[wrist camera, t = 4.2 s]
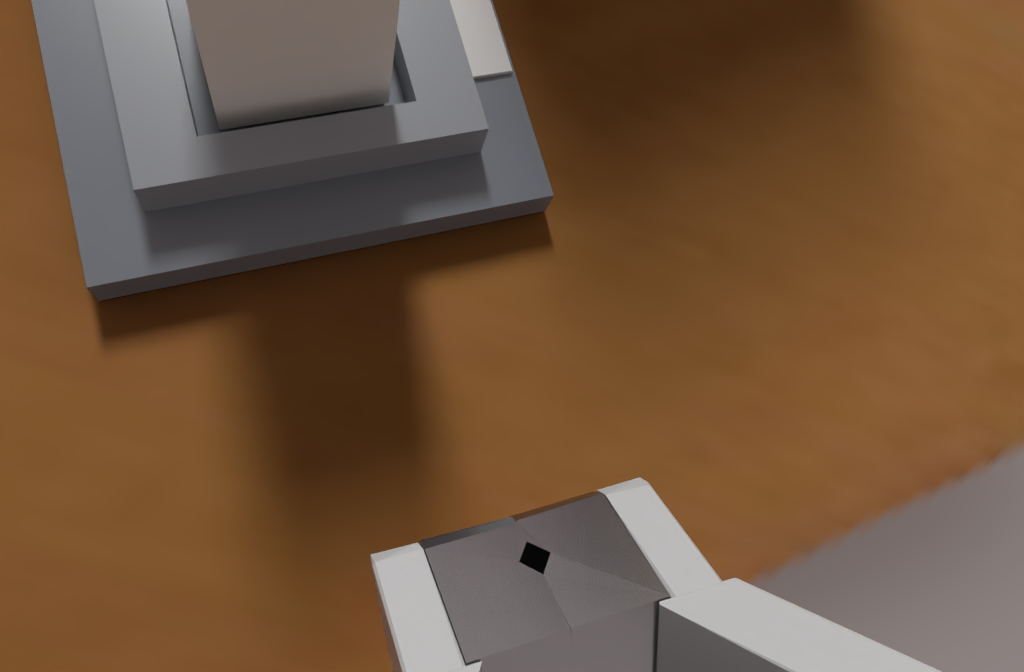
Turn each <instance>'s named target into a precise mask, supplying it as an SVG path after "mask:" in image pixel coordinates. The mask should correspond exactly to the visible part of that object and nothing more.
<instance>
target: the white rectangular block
mask: <svg viewBox="0 0 1024 672" xmlns="http://www.w3.org/2000/svg"><path fill="white" fill-rule="evenodd" d="M186 3H187V7H188V11H189V15H190V19H191V22H192V26H193V30H194V34H195V38H196V41H197V45H198V49H199V53H200V57H201V61H202V64H203V68H204V72H205V76H206V80H207V83H208V87H209V91H210V95H211V99H212V103H213V106H214V110H215V114H216V118H217V122H218V125H219V129H220V130H223V129H229V128H236V127H242V126H248V125H254V124H260V123H267V122H273V121H279V120H285V119H292V118H298V117H304V116H310V115H317V114H323V113H329V112H335V111H341V110H348V109H354V108H360V107H366V106H373V105H379V104H385V103H389V95H390V86H391V77H392V68H393V59H394V50H395V41H396V32H397V23H398V14H399V5H400V0H186Z"/></svg>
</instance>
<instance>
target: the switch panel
mask: <svg viewBox="0 0 1024 672" xmlns="http://www.w3.org/2000/svg"><path fill="white" fill-rule="evenodd" d="M31 2H32V7H33V12H34V17H35V22H36V28H37V33H38V38H39V43H40V48H41V53H42V59H43V64H44V69H45V74H46V79H47V85H48V90H49V95H50V100H51V105H52V110H53V116H54V121H55V126H56V131H57V136H58V142H59V147H60V152H61V157H62V162H63V167H64V173H65V178H66V183H67V188H68V193H69V199H70V204H71V209H72V214H73V219H74V224H75V230H76V235H77V240H78V245H79V250H80V256H81V261H82V266H83V271H84V276H85V281H86V287H87V288H88V290H89V291H90V292H91V293H92V294H93V295H94V297H95V298H96V299H97V300H98V301H101V300H106V299H111V298H116V297H121V296H126V295H131V294H136V293H141V292H146V291H151V290H156V289H161V288H166V287H171V286H176V285H181V284H186V283H191V282H195V281H200V280H205V279H210V278H215V277H220V276H225V275H230V274H235V273H240V272H245V271H250V270H255V269H260V268H265V267H270V266H275V265H280V264H285V263H290V262H295V261H300V260H305V259H310V258H314V257H319V256H324V255H329V254H334V253H339V252H344V251H349V250H354V249H359V248H364V247H369V246H374V245H379V244H384V243H389V242H394V241H399V240H404V239H409V238H414V237H419V236H424V235H429V234H434V233H438V232H443V231H448V230H453V229H458V228H463V227H468V226H473V225H478V224H483V223H488V222H493V221H498V220H503V219H508V218H513V217H518V216H523V215H528V214H533V213H538V212H543V211H545V210H546V208H547V206H548V205H549V203H550V201H551V200H552V198H553V196H554V194H553V191H552V188H551V184H550V181H549V178H548V175H547V172H546V169H545V165H544V162H543V159H542V156H541V153H540V150H539V146H538V143H537V140H536V137H535V134H534V131H533V128H532V124H531V121H530V118H529V115H528V112H527V109H526V105H525V102H524V99H523V96H522V93H521V90H520V86H519V83H518V80H517V77H516V74H515V71H514V67H513V64H512V61H511V58H510V55H509V52H508V48H507V45H506V42H505V39H504V36H503V33H502V29H501V26H500V23H499V20H498V17H497V14H496V10H495V7H494V4H493V1H492V0H400V5H399V14H398V23H397V32H396V41H395V50H394V59H393V68H392V77H391V86H390V95H389V103H385V104H379V105H373V106H366V107H360V108H354V109H348V110H341V111H335V112H329V113H323V114H317V115H310V116H304V117H298V118H292V119H285V120H279V121H273V122H267V123H260V124H254V125H248V126H242V127H236V128H229V129H223V130H220V129H219V125H218V122H217V118H216V114H215V110H214V106H213V103H212V99H211V95H210V91H209V87H208V83H207V80H206V76H205V72H204V68H203V64H202V61H201V57H200V53H199V49H198V45H197V41H196V38H195V34H194V30H193V26H192V22H191V19H190V15H189V11H188V7H187V3H186V0H31Z"/></svg>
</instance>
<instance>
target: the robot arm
mask: <svg viewBox="0 0 1024 672" xmlns="http://www.w3.org/2000/svg"><path fill="white" fill-rule="evenodd" d="M371 567H372V572H373V577H374V582H375V587H376V592H377V597H378V602H379V607H380V612H381V617H382V622H383V627H384V632H385V636H386V641H387V645H388V650H389V654H390V659H391V663H392V668H393V672H941V671H939V670H937V669H935V668H932V667H930V666H928V665H926V664H924V663H921V662H919V661H917V660H915V659H913V658H911V657H908V656H906V655H904V654H902V653H899V652H897V651H895V650H893V649H891V648H889V647H886V646H884V645H882V644H880V643H878V642H875V641H873V640H871V639H869V638H866V637H865V636H862V635H860V634H858V633H856V632H854V631H851V630H849V629H847V628H845V627H842V626H840V625H838V624H836V623H834V622H832V621H829V620H827V619H825V618H823V617H821V616H819V615H816V614H814V613H812V612H810V611H808V610H805V609H803V608H801V607H799V606H797V605H794V604H792V603H790V602H788V601H786V600H784V599H781V598H779V597H777V596H775V595H773V594H770V593H768V592H766V591H764V590H762V589H759V588H757V587H755V586H753V585H751V584H748V583H746V582H744V581H742V580H740V579H738V578H732V579H729V580H725V581H722V580H721V579H720V578H719V576H718V575H717V574H716V572H715V571H714V570H713V568H712V567H711V566H710V564H709V563H708V562H707V560H706V559H705V558H704V556H703V555H702V554H701V552H700V551H699V550H698V548H697V547H696V545H695V544H694V543H693V541H692V540H691V539H690V537H689V536H688V535H687V533H686V532H685V531H684V529H683V528H682V527H681V525H680V524H679V523H678V521H677V520H676V519H675V517H674V516H673V515H672V513H671V512H670V511H669V509H668V508H667V507H666V505H665V504H664V503H663V501H662V500H661V499H660V497H659V496H658V495H657V493H656V492H655V491H654V489H653V488H652V487H651V485H650V484H649V483H648V482H647V481H645V480H643V479H642V478H640V477H639V478H636V479H633V480H629V481H626V482H623V483H619V484H616V485H613V486H609V487H606V488H603V489H599V490H597V491H596V492H590V493H587V494H583V495H580V496H576V497H573V498H570V499H566V500H563V501H560V502H556V503H553V504H550V505H546V506H543V507H540V508H536V509H533V510H530V511H526V512H523V513H520V514H516V515H513V516H510V517H508V518H504V519H501V520H497V521H493V522H489V523H485V524H482V525H478V526H474V527H470V528H466V529H462V530H459V531H455V532H451V533H447V534H443V535H440V536H436V537H432V538H428V539H424V540H421V541H420V544H419V543H414V544H410V545H406V546H402V547H398V548H394V549H390V550H386V551H383V552H379V553H375V554H371Z"/></svg>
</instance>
